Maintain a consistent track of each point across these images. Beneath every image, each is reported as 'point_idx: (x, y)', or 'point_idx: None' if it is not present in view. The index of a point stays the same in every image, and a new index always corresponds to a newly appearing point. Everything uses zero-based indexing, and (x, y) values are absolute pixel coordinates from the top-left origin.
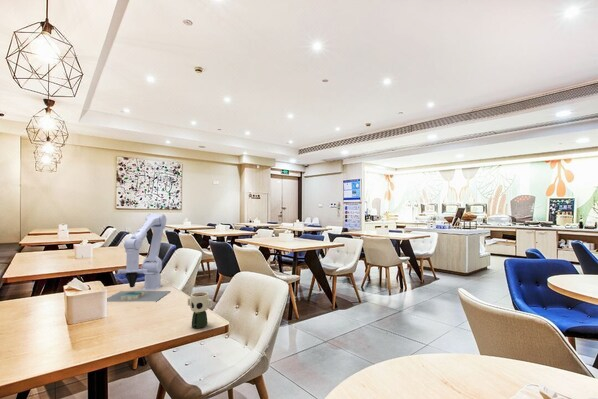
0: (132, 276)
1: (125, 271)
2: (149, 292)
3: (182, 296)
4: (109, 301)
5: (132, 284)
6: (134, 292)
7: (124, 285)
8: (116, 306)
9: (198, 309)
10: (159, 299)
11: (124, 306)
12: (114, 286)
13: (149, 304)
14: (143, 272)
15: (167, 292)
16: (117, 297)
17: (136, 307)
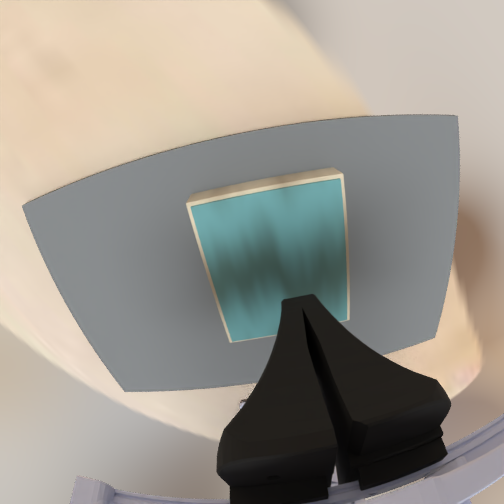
0: (271, 420)
1: (478, 469)
2: (229, 364)
3: (12, 325)
4: (398, 116)
5: (282, 320)
6: None
7: None
8: (252, 24)
9: None
10: (43, 253)
11: (176, 39)
12: (474, 374)
13: (30, 150)
14: (120, 500)
15: (115, 372)
16: (400, 225)
17: (67, 61)
